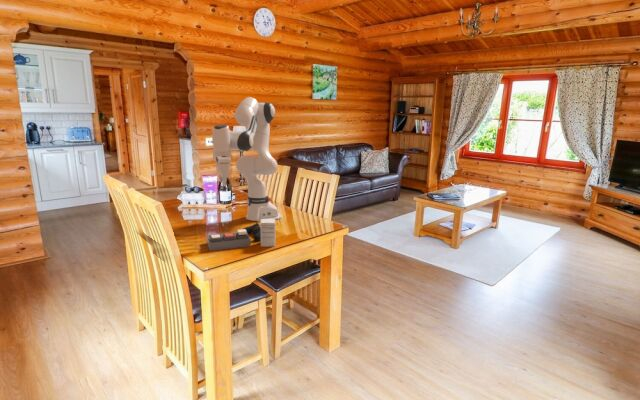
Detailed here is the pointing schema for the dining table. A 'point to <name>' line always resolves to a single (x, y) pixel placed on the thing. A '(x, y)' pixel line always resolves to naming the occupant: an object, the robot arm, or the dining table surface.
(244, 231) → the button
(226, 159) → the robot arm
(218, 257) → the dining table surface
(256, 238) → the gaming controller
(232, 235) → the red button
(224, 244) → the button box
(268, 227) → the supplement box
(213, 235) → the button
